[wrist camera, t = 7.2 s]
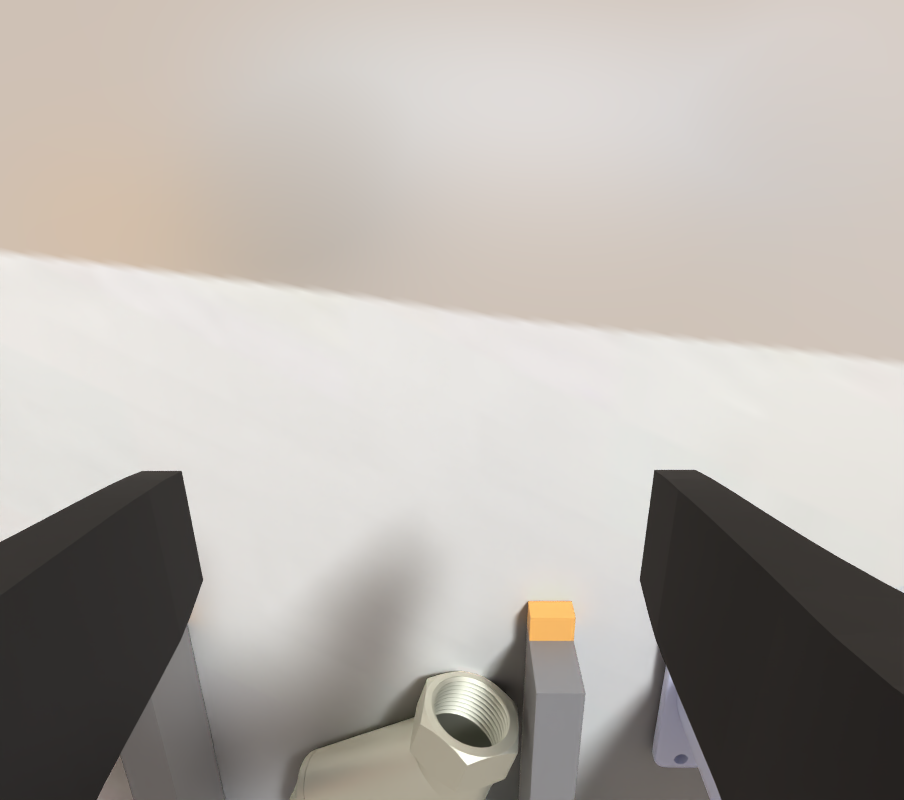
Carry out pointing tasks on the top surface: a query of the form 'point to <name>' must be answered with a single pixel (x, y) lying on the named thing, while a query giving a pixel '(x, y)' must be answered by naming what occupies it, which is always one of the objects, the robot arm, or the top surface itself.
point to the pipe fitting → (423, 749)
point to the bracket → (542, 741)
